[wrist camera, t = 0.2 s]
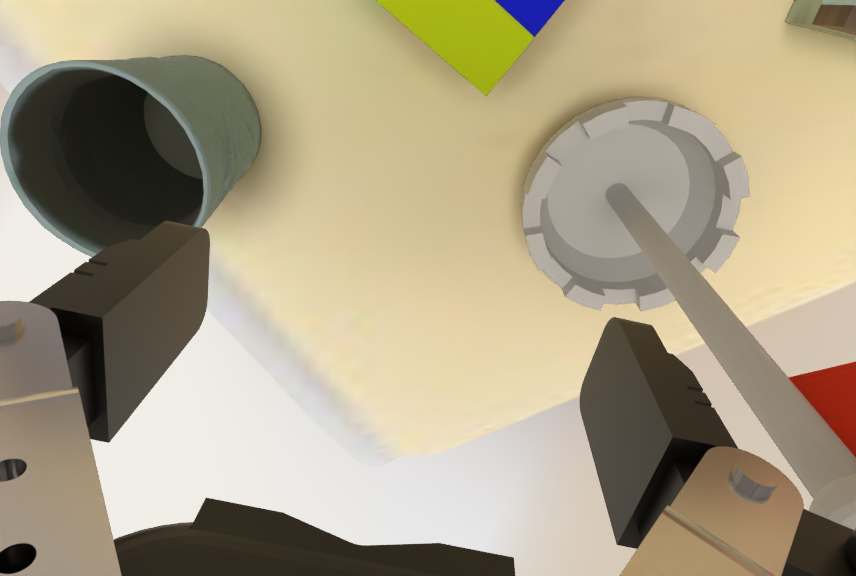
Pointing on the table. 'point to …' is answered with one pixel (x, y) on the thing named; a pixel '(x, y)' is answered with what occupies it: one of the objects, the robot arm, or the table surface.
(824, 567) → the robot arm
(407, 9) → the puzzle toy
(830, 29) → the track
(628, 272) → the flag stand
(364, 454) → the table surface
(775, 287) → the table surface
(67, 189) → the grey green cup
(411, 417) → the table surface
